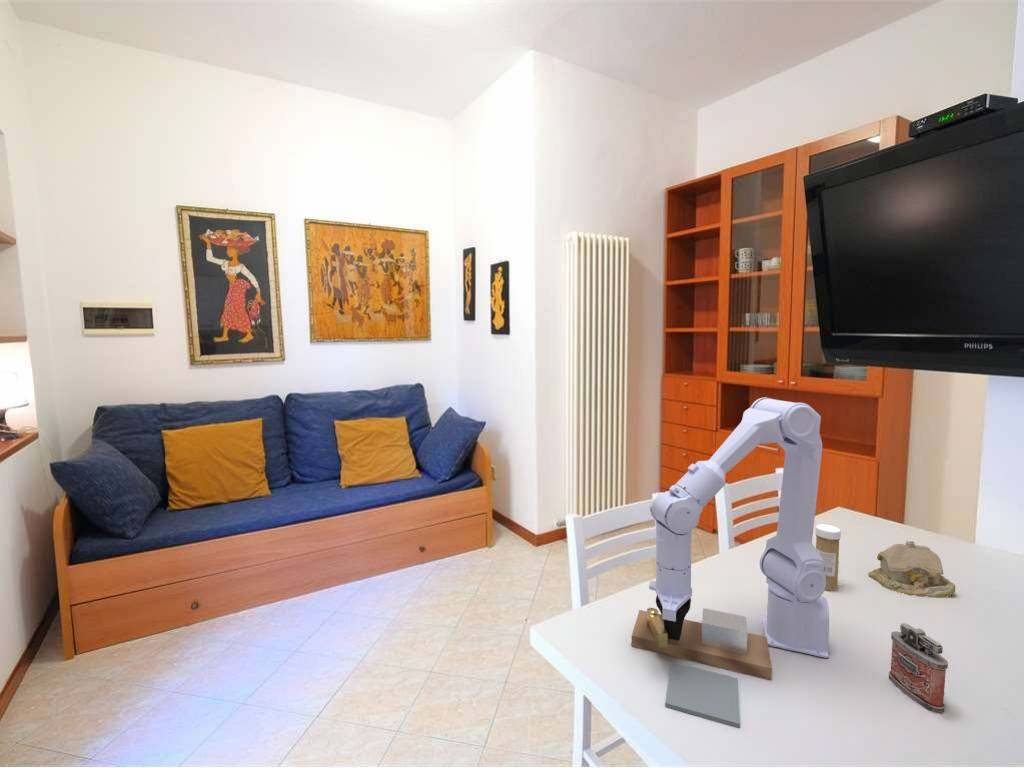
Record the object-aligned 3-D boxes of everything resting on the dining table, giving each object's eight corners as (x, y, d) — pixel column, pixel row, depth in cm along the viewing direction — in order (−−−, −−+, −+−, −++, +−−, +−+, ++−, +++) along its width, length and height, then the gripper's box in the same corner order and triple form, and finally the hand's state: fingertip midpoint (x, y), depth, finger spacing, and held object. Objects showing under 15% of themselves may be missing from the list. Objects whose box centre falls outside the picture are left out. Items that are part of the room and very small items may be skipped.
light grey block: (745, 638, 83) (745, 616, 83) (746, 655, 79) (747, 632, 79) (702, 629, 86) (702, 608, 86) (701, 645, 82) (702, 622, 81)
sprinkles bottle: (841, 587, 105) (844, 528, 104) (832, 593, 102) (835, 533, 101) (819, 579, 109) (821, 522, 108) (809, 584, 106) (811, 526, 105)
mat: (737, 681, 76) (737, 678, 75) (739, 728, 66) (739, 723, 66) (671, 665, 80) (671, 661, 79) (665, 706, 70) (665, 702, 70)
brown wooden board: (766, 647, 84) (766, 636, 84) (771, 680, 76) (771, 668, 76) (639, 619, 93) (639, 609, 93) (631, 646, 85) (631, 635, 84)
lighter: (882, 676, 77) (885, 616, 76) (901, 674, 77) (905, 615, 76) (930, 714, 69) (934, 648, 68) (951, 712, 69) (956, 647, 68)
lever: (645, 622, 88) (645, 607, 88) (656, 622, 88) (656, 607, 88) (656, 647, 81) (657, 631, 81) (668, 647, 81) (669, 631, 81)
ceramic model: (882, 592, 103) (885, 548, 102) (862, 569, 113) (864, 528, 113) (963, 603, 99) (966, 556, 98) (934, 578, 109) (937, 535, 108)
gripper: (654, 543, 90) (654, 611, 91) (643, 578, 77) (643, 657, 78) (694, 548, 87) (694, 619, 88) (689, 586, 74) (689, 668, 75)
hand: (673, 637), depth 83 cm, fingers closed, pressing on lever
